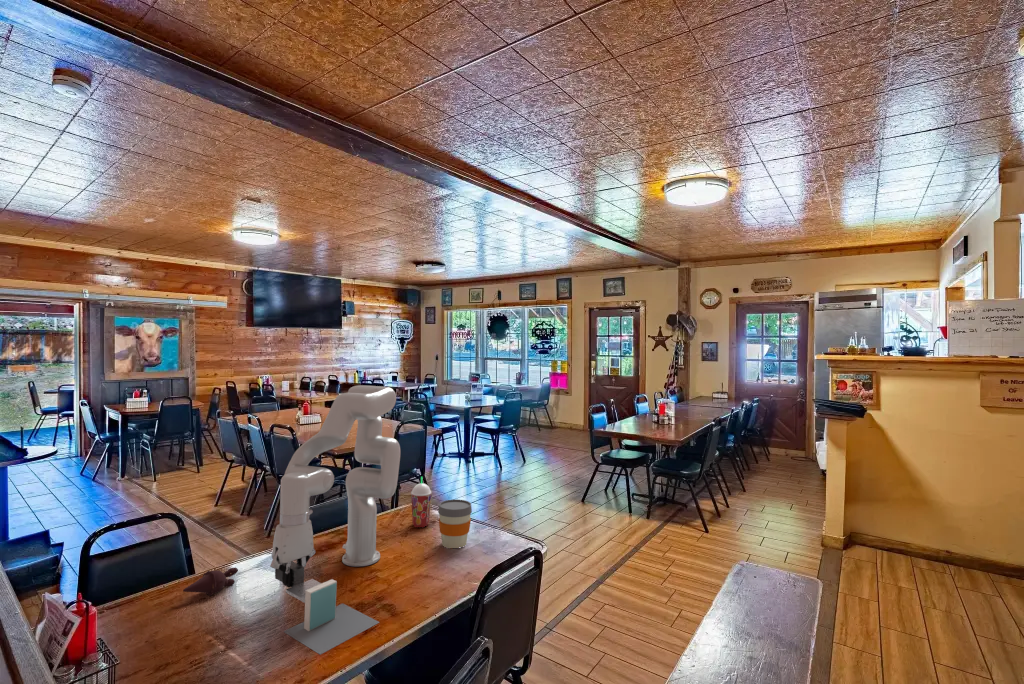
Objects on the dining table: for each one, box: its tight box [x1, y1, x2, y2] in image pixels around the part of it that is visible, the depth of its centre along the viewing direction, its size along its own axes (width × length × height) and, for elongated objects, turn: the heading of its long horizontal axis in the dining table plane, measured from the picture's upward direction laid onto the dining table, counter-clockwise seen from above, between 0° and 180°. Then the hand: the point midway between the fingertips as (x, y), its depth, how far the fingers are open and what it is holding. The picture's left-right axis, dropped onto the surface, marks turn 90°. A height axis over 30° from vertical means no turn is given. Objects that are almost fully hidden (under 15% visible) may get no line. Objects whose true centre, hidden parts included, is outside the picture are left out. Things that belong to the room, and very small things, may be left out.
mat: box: [282, 603, 380, 656], centre depth 135 cm, size 16×18×1 cm
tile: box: [303, 578, 338, 631], centre depth 136 cm, size 2×8×10 cm, turn 144°
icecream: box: [182, 567, 239, 597], centre depth 151 cm, size 7×7×15 cm
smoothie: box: [410, 476, 433, 528], centre depth 211 cm, size 8×8×20 cm
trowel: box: [274, 560, 323, 604], centre depth 142 cm, size 19×8×5 cm, turn 54°
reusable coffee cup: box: [437, 499, 473, 549], centre depth 193 cm, size 13×13×15 cm
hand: (293, 583), depth 144 cm, fingers closed on trowel, 2 cm apart
